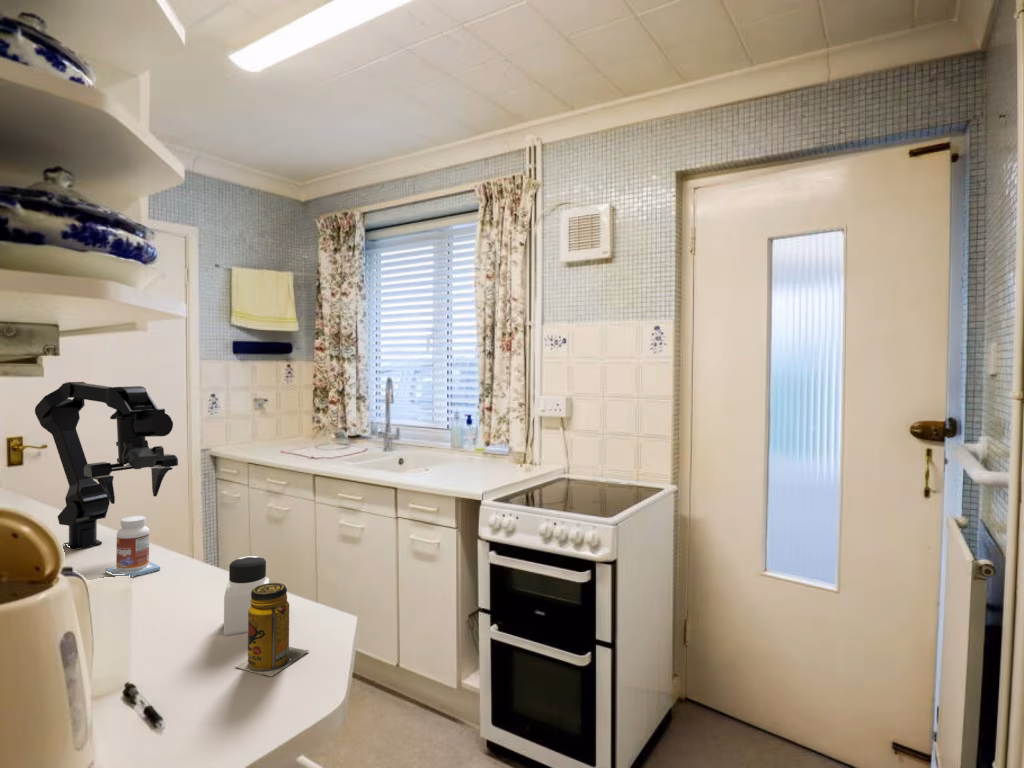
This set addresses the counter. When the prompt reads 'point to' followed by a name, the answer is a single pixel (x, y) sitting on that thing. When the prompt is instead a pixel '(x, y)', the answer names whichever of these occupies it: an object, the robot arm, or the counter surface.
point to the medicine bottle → (242, 592)
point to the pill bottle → (132, 544)
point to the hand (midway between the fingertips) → (134, 499)
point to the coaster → (149, 568)
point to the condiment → (269, 631)
